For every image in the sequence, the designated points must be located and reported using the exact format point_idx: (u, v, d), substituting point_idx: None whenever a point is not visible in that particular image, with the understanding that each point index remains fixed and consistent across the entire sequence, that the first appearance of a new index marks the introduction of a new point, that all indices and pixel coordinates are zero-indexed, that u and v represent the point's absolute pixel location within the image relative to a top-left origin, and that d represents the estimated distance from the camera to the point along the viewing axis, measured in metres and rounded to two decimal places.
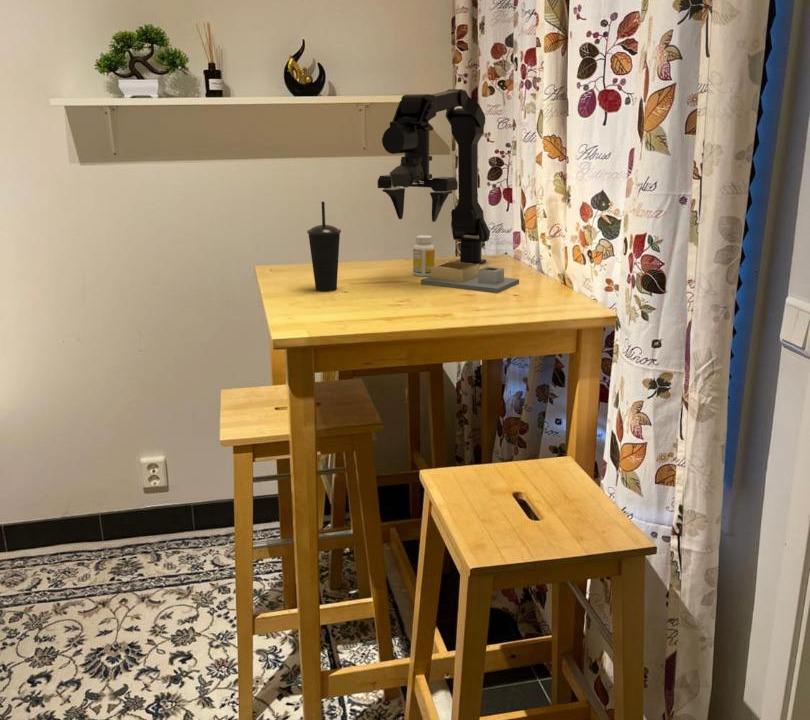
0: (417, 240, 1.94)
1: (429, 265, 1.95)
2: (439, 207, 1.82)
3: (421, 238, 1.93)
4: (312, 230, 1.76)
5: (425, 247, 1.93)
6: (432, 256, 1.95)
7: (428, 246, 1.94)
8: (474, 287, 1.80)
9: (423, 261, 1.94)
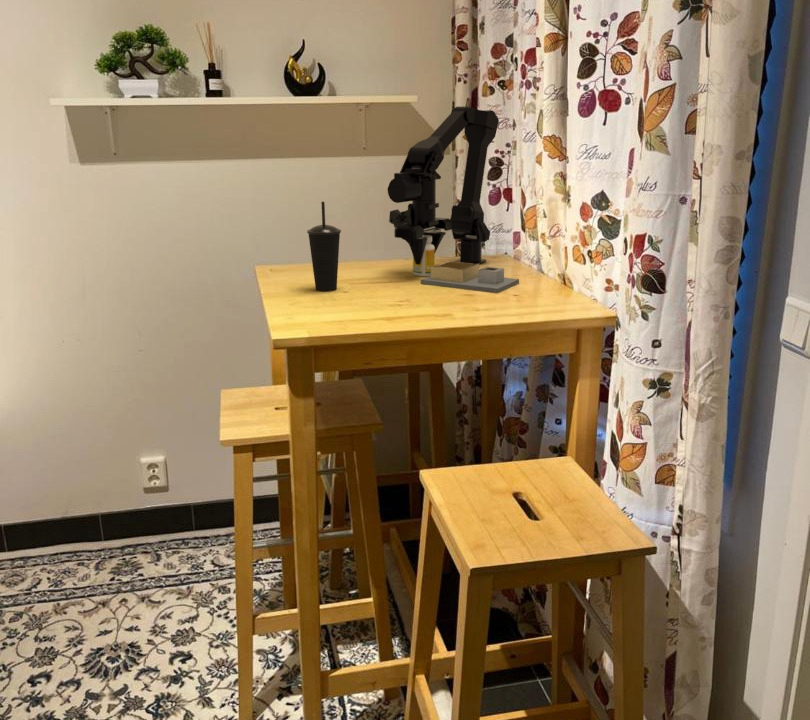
0: None
1: (429, 265, 1.95)
2: (417, 252, 1.92)
3: None
4: (312, 230, 1.76)
5: (425, 247, 1.93)
6: (432, 256, 1.95)
7: (428, 246, 1.94)
8: (474, 287, 1.80)
9: (423, 261, 1.94)
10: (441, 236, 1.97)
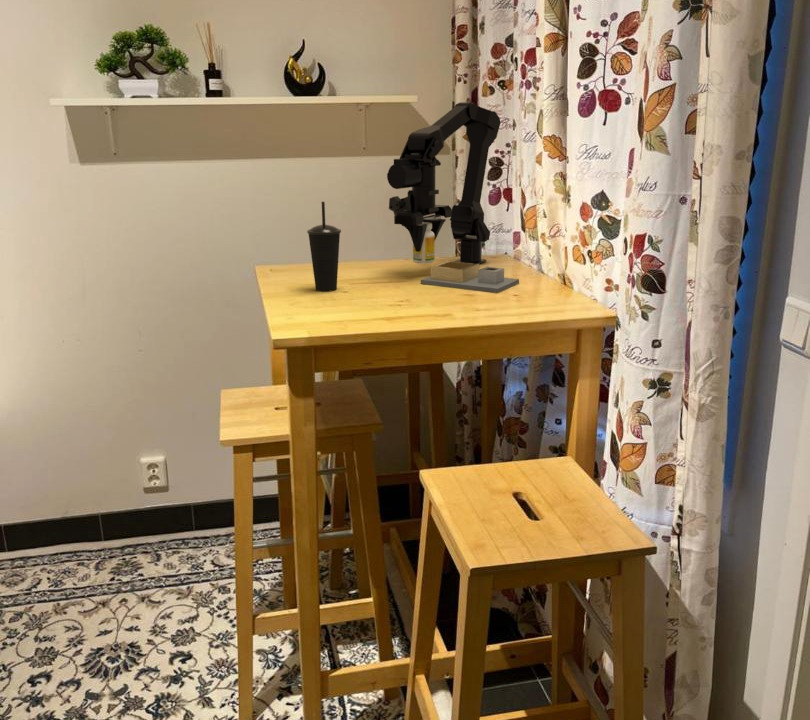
0: None
1: (429, 252, 1.94)
2: (417, 239, 1.91)
3: None
4: (312, 230, 1.76)
5: (425, 234, 1.92)
6: (432, 243, 1.94)
7: (428, 233, 1.93)
8: (474, 287, 1.80)
9: (423, 248, 1.93)
10: (441, 223, 1.96)
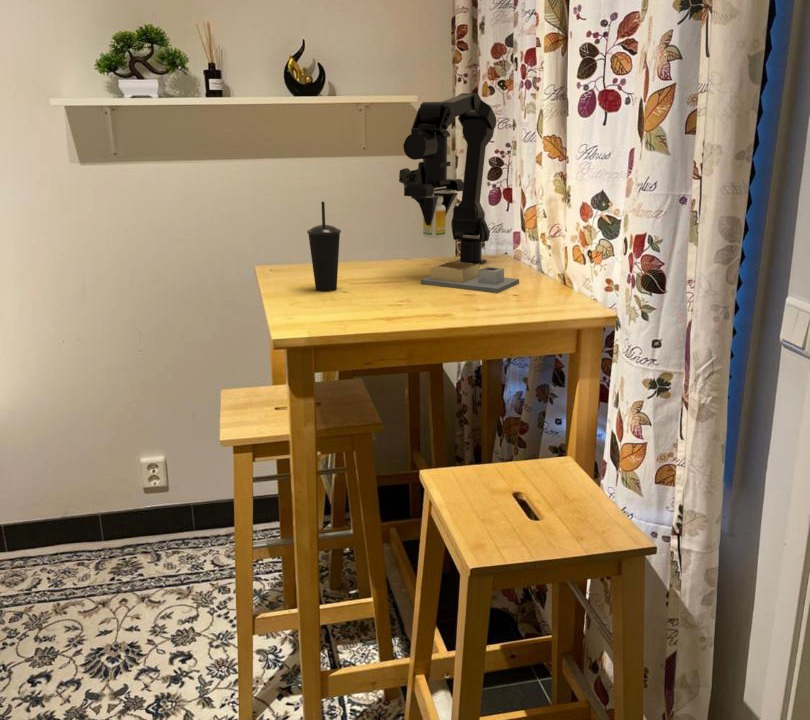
0: None
1: (440, 226, 1.89)
2: (427, 212, 1.86)
3: None
4: (312, 230, 1.76)
5: (435, 207, 1.87)
6: (443, 217, 1.88)
7: (439, 206, 1.87)
8: (474, 287, 1.80)
9: (434, 222, 1.88)
10: (453, 197, 1.90)
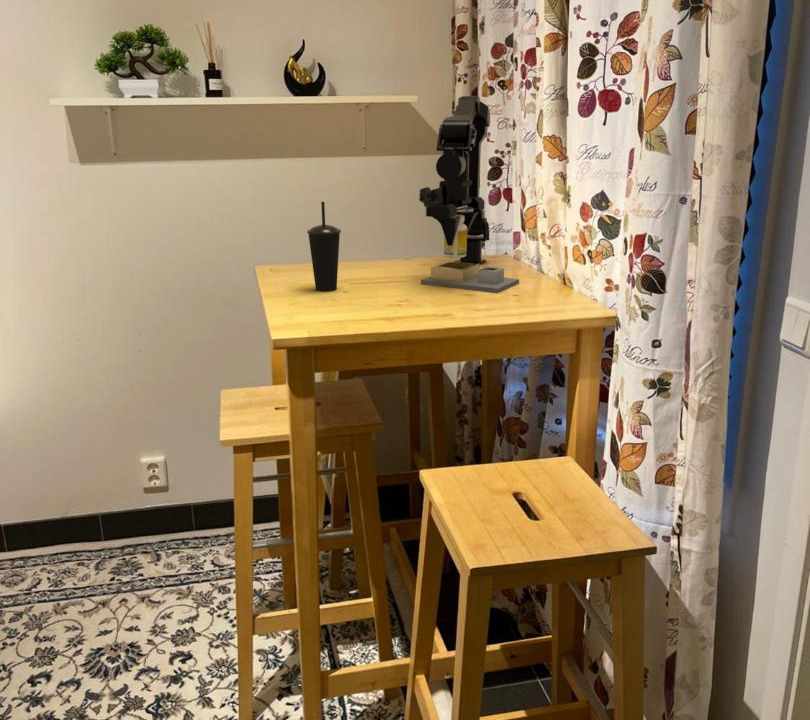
0: None
1: (461, 246, 1.84)
2: (449, 232, 1.82)
3: None
4: (312, 230, 1.76)
5: None
6: (464, 236, 1.84)
7: (460, 226, 1.83)
8: (474, 287, 1.80)
9: (455, 242, 1.84)
10: (474, 216, 1.86)
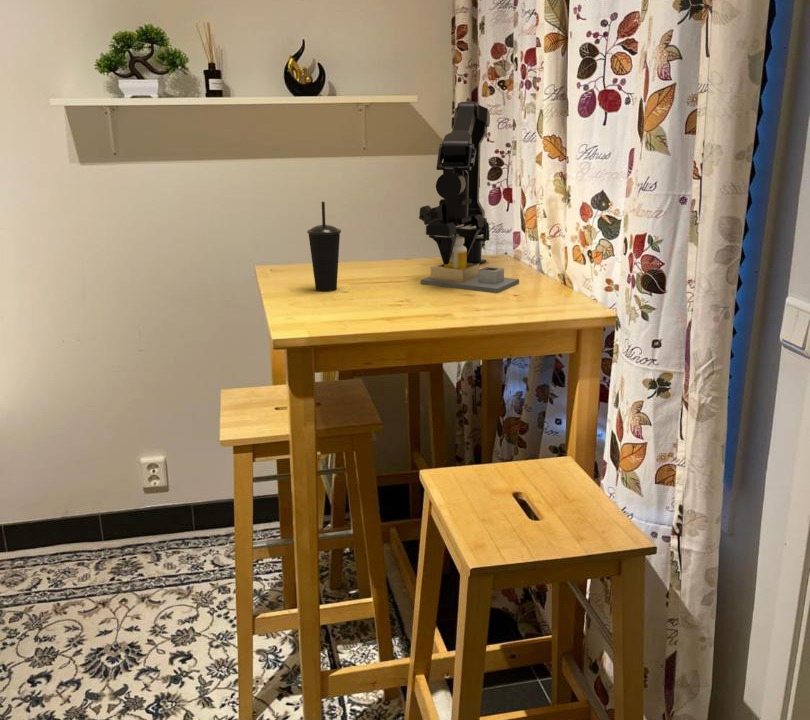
0: None
1: (461, 268, 1.86)
2: (445, 251, 1.82)
3: None
4: (312, 230, 1.76)
5: (457, 249, 1.84)
6: (464, 258, 1.86)
7: (460, 248, 1.85)
8: (474, 287, 1.80)
9: (455, 263, 1.85)
10: (477, 232, 1.89)
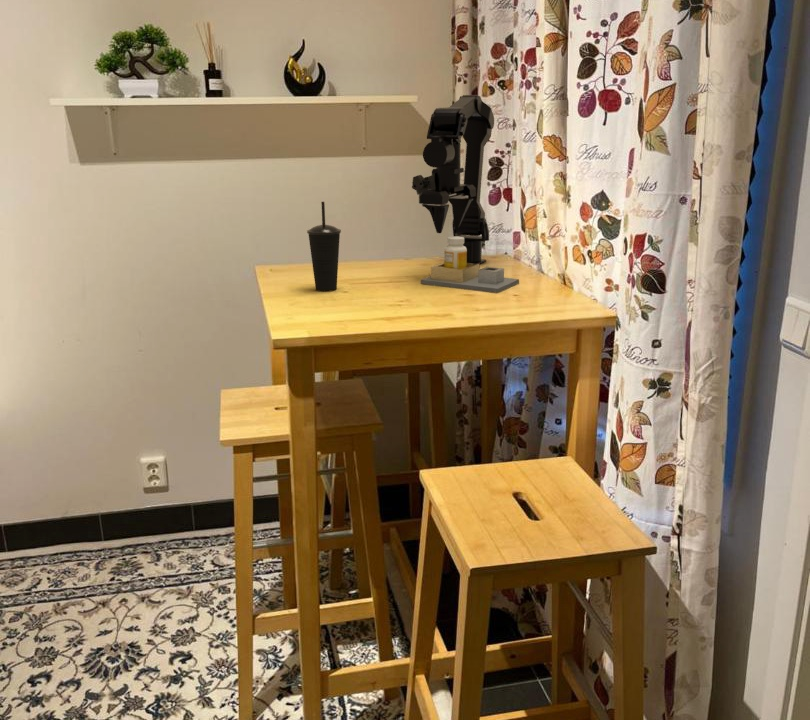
0: (449, 241, 1.85)
1: (461, 268, 1.86)
2: (438, 220, 1.84)
3: (453, 239, 1.84)
4: (312, 230, 1.76)
5: (457, 249, 1.84)
6: (464, 258, 1.86)
7: (460, 248, 1.85)
8: (474, 287, 1.80)
9: (455, 263, 1.85)
10: (469, 202, 1.91)
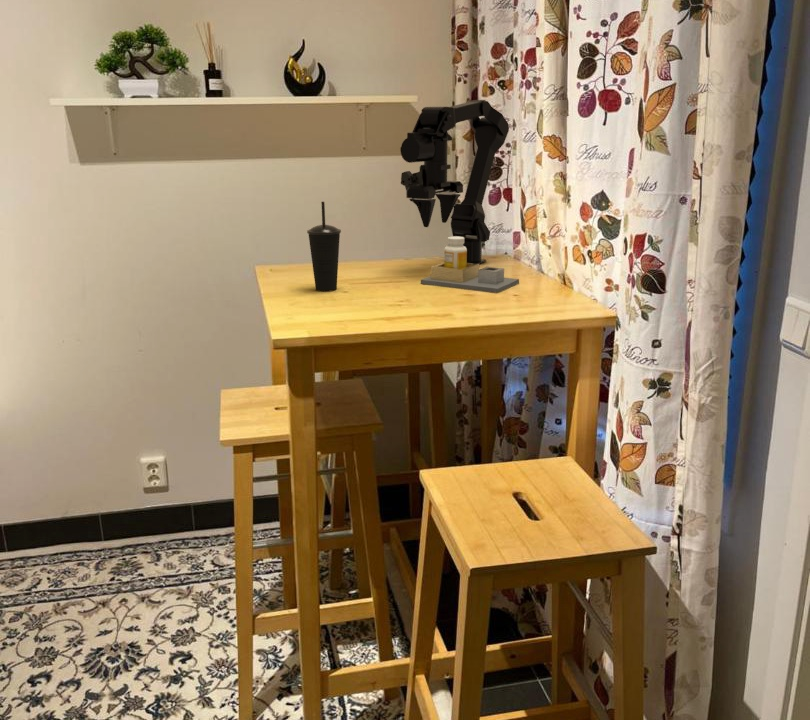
0: (449, 241, 1.85)
1: (461, 268, 1.86)
2: (425, 214, 1.91)
3: (453, 239, 1.84)
4: (312, 230, 1.76)
5: (457, 249, 1.84)
6: (464, 258, 1.86)
7: (460, 248, 1.85)
8: (474, 287, 1.80)
9: (455, 263, 1.85)
10: (456, 198, 1.98)
